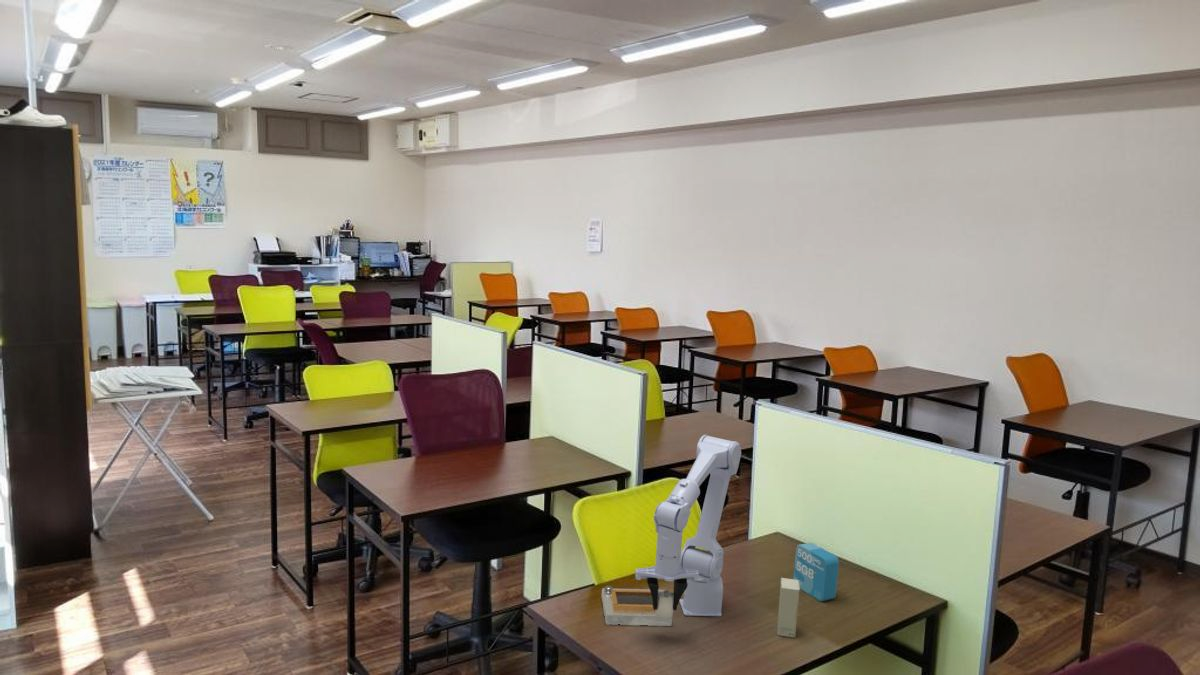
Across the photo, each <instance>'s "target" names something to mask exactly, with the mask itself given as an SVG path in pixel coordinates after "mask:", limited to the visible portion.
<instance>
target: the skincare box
mask: <svg viewBox="0 0 1200 675" xmlns="http://www.w3.org/2000/svg"><path fill="white" fill-rule="evenodd" d="M779 585H780V587H779V599H778V613H777V624H776V625H777V628H776V629H777V630H776V631H777V632H776V633H777V636H782V637H787V638H797V637H796V635H797V622H798V612H799V600H800V599H799V597H800V590H801V589H800V587H799V580H794V579H793V578H785V577H780V584H779Z"/></svg>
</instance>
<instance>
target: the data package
mask: <svg viewBox="0 0 1200 675" xmlns="http://www.w3.org/2000/svg"><path fill="white" fill-rule="evenodd" d="M839 566H840V561H839V558H838V557H837V556H836V555H835V554H833V553H831V552H829V551H828V550H826V549H824V548H822V547H821V546H819V545H817V544H815V543H813V542H808V543H803V544H802V543H801V544H798V545H797V546H796V547H795V558H794V567H793V568H794V570H793V575H792V577H793V578H792V579H794V580H799V587H800V590H801V591H803V592H805V593H806V594H808V595H810V596H811V597H813V598H814V599H815V598H816V600H817V601H818V602H824V601H828V600H833V599H835V598H836V596H837V595H836V594H837V587H838V586H837V585H838V577H839V570H840V569H839Z"/></svg>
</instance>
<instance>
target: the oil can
mask: <svg viewBox="0 0 1200 675" xmlns="http://www.w3.org/2000/svg"><path fill="white" fill-rule="evenodd" d="M660 590H661V591H658V596H657V610H656V615H657V616H658V617H660V618H671V617H672V618H673V613H674V610H673V603H674V594H673V593H674V592H673V591H670V590H664V589H660Z"/></svg>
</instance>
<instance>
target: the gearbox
mask: <svg viewBox="0 0 1200 675" xmlns="http://www.w3.org/2000/svg"><path fill="white" fill-rule="evenodd" d="M601 589H602V590H601V602H602V603H601V604H602V608H603V609H602V610H603V615H604V616H605V617H604V622H605V626H640V625H648V627H649V626H650V627H653V626H654V627H672V626H673V616H672V617H671V618H660V617H658V616H657V615H656V610H654V609H653V601H652V595H651V591H650V589H649V588H648V589H647V588H646V589H645V588H642V589H640V588H613V586H611V585H605V586H604V587H603V588H601ZM661 590H662V589H658V591H661ZM610 624H611V625H610ZM618 624H620V625H618ZM626 624H627V625H626Z"/></svg>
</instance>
